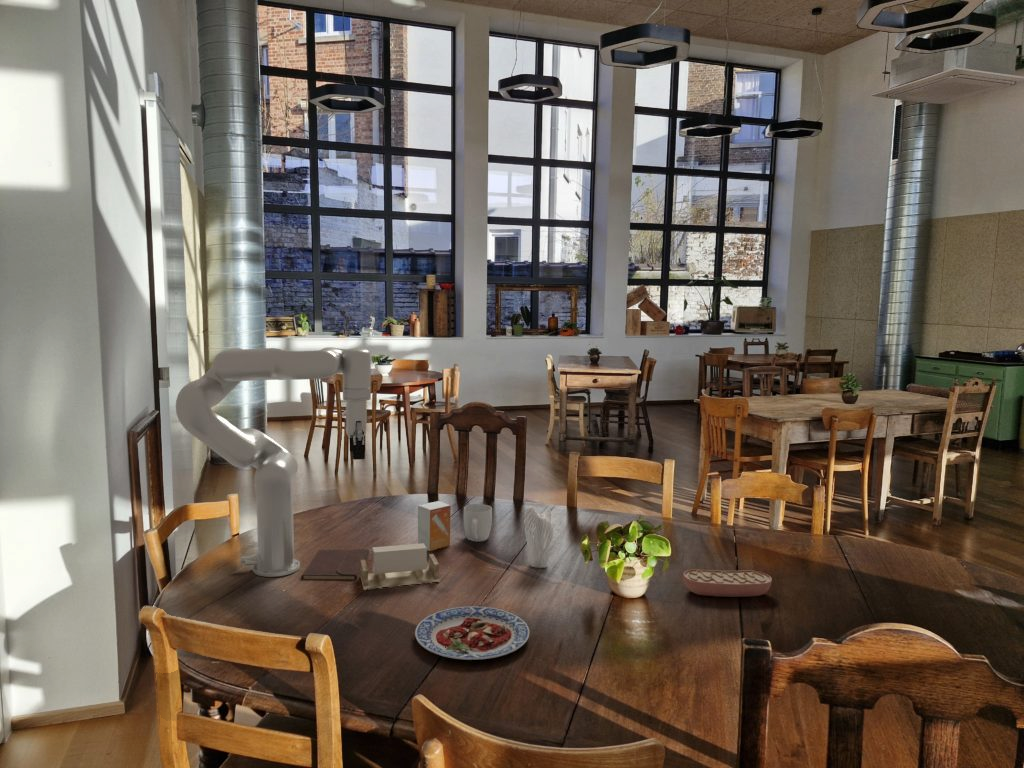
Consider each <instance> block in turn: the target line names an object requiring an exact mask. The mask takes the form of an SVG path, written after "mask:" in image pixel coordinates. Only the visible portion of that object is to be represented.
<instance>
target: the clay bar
mask: <svg viewBox="0 0 1024 768" xmlns="http://www.w3.org/2000/svg"><path fill="white" fill-rule="evenodd" d="M427 552H428V550H427V548H426V546H425V544H424V543H421V544H418V543H411V544H410V543H409V544H401V545H400V544H398V545H384V546H374V547H373V546H372V573H374V574H383V573H394V572H405V571H416V570H427V568H428V567H427V566H428V565H427V564H428V563H427V562H428V561H427V560H428V559H427V557H428V555H427Z"/></svg>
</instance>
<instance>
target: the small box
mask: <svg viewBox="0 0 1024 768" xmlns="http://www.w3.org/2000/svg"><path fill="white" fill-rule="evenodd" d="M451 508H452V507H451V504H448V503H445V502H443V501H440V500H436V501H433V502H432V501H431V502H427V503H424V504H419V505H417V544H421V543H424V544H425V546H426V548H427V552H428V551H429V552H432V551H436V550H438V548H439V549H443V548H445V547H446V546H447V547H450V546H449V545H451ZM442 547H443V548H442Z"/></svg>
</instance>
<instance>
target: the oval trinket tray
mask: <svg viewBox="0 0 1024 768" xmlns="http://www.w3.org/2000/svg"><path fill="white" fill-rule="evenodd" d="M772 580H773V578H772V577H771V576H770V575H769V574H767V573H764V572H761V571H757V570H752V569H748V570H747V569H746V570H744V569H743V570H713V569H710V570H709V569H700V568H699V569H698V568H697V569H696V568H695V569H693V568H692V569H688V570H685V571H684V572H683V581H684V582H683V583H684V585H685V587H686V588H687V589H688V590H689V591H690V592H691V593H693V594H695V595H697V596H698V595H699V596H710V597H725V598H729V597H730V598H740V597H741V598H743V597H744V598H745V597H759V596H762V595H765V594H766V593H767V592H768V591H769V590H770V588H771V586H772V583H773V582H772Z"/></svg>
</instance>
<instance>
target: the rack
mask: <svg viewBox="0 0 1024 768" xmlns="http://www.w3.org/2000/svg"><path fill="white" fill-rule="evenodd" d="M359 575H360V581H361V584H362V589H363V590H364V591H367V589H368V590H375V588H379V589H383V588H382V587H389V588H391V587H390V586H398V585H409V584H419V583H430V582H439V583H440V564H439V561H438V560H437V557H436V556H435V554H434V553H429V554H428V567H427V570H416V571H405V572H394V573H383V574H374V572H371V573H369V569H368V565H367V560H366V561H365V560H361V571H360V574H359ZM430 584H431V583H430ZM409 586H410V585H409Z"/></svg>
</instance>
